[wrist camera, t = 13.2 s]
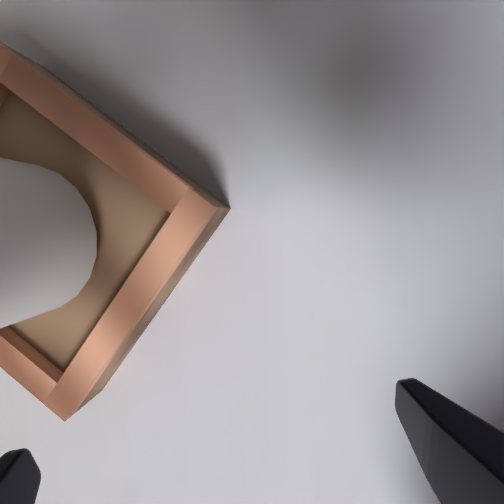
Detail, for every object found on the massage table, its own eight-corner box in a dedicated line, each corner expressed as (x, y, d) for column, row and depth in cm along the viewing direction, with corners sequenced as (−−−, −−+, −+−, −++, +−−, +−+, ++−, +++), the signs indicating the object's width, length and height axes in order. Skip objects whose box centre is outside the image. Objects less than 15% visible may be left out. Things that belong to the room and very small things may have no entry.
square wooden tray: (101, 390, 21) (64, 421, 18) (-62, 255, 22) (-124, 261, 19) (230, 208, 19) (214, 206, 16) (41, 65, 20) (-11, 36, 17)
